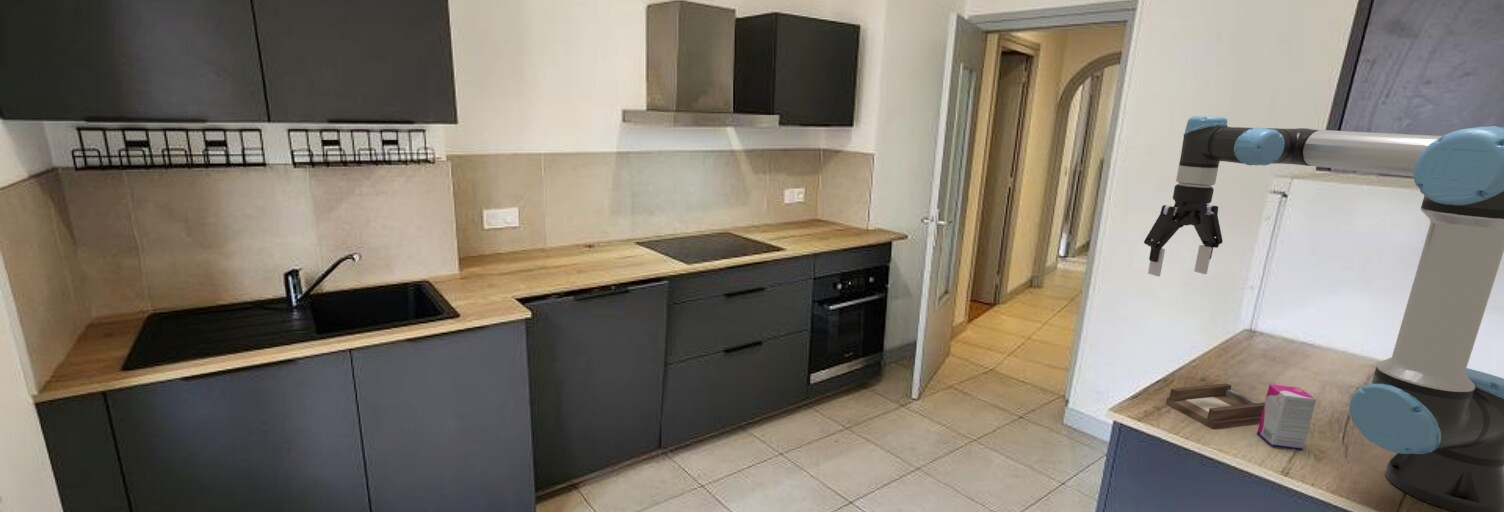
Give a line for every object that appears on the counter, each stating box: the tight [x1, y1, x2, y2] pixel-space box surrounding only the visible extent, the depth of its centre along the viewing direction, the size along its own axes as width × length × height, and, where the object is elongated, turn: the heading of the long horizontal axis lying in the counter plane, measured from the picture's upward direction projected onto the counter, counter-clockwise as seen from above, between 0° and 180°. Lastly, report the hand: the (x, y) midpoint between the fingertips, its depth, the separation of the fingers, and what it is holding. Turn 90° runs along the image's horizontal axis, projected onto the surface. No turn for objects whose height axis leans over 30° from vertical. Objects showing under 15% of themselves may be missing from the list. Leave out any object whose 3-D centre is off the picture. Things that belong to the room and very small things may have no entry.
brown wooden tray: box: [1165, 383, 1265, 430], centre depth 144 cm, size 12×16×4 cm
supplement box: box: [1256, 383, 1317, 451], centre depth 131 cm, size 6×6×12 cm
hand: (1177, 273), depth 153 cm, fingers open, 13 cm apart
